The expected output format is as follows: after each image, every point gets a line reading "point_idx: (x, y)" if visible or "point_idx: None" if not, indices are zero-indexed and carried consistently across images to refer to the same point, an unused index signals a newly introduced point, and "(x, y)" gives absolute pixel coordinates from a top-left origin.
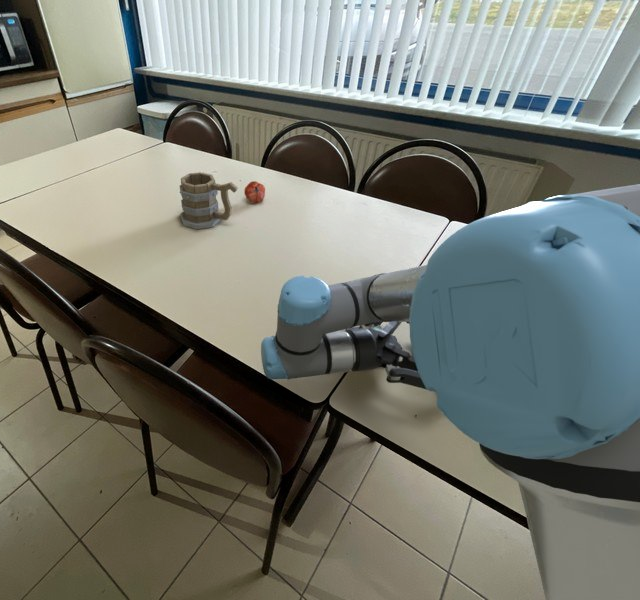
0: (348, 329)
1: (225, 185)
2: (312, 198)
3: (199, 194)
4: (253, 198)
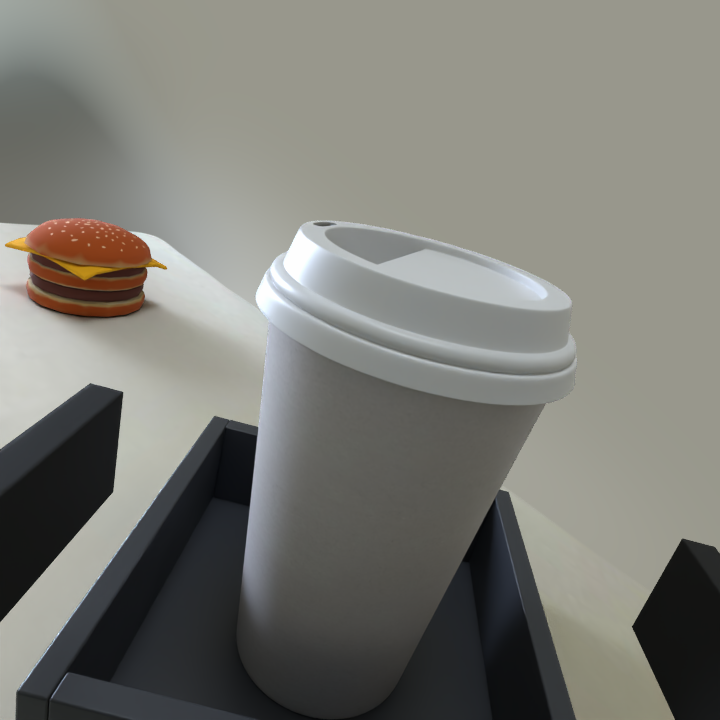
0: None
1: None
2: None
3: None
4: None
